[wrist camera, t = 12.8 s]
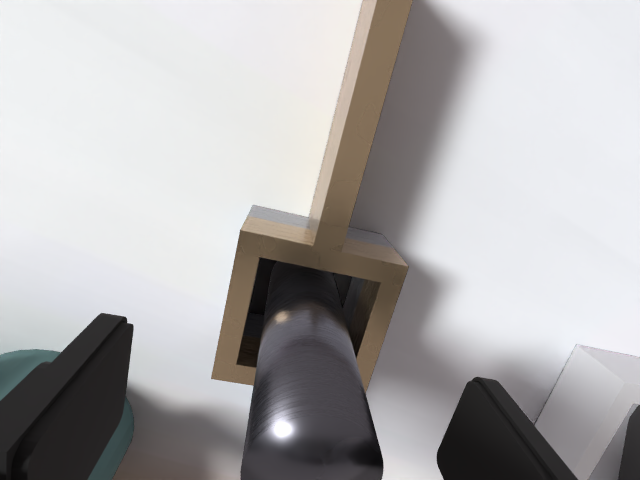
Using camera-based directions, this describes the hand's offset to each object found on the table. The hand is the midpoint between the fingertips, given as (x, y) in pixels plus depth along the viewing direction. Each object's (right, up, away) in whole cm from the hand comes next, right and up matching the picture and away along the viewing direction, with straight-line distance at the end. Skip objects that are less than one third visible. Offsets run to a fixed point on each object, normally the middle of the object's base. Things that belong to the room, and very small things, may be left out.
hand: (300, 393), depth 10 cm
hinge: (0, +2, +7) cm, 8 cm away
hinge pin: (0, +2, +7) cm, 8 cm away
